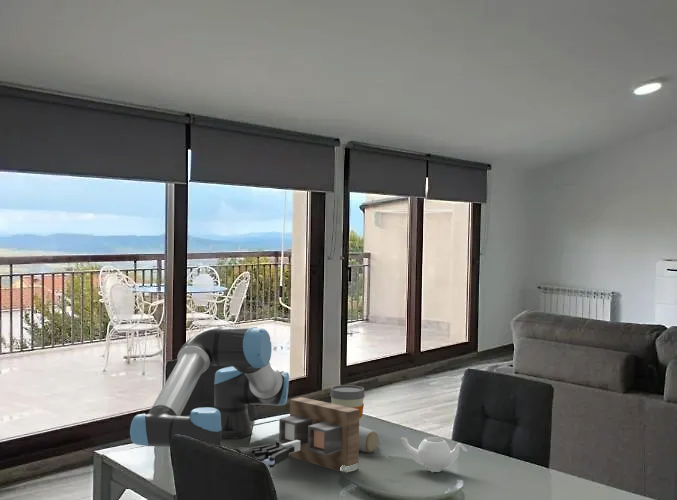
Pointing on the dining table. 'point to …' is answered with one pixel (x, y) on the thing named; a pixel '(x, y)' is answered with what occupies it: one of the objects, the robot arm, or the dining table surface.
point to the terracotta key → (318, 439)
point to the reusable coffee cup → (348, 397)
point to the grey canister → (367, 440)
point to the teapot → (433, 452)
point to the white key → (289, 431)
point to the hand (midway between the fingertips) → (298, 445)
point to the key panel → (337, 431)
